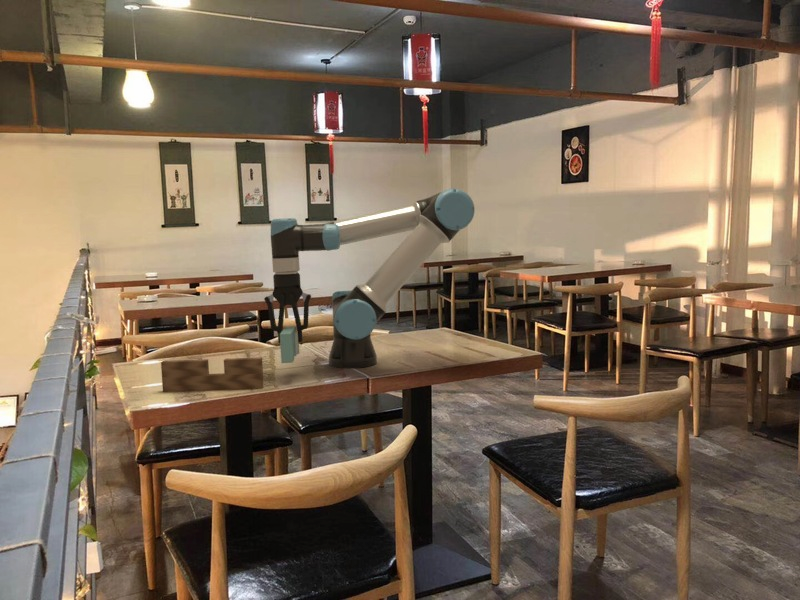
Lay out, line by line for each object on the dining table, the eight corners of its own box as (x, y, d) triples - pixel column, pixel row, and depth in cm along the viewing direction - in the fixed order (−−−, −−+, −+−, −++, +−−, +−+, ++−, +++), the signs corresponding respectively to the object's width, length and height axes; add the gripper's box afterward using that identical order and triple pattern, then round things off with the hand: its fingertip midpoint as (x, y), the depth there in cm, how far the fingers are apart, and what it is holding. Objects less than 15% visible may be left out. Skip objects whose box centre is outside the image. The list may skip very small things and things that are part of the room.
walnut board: (263, 386, 168) (262, 357, 167) (262, 388, 166) (261, 358, 165) (165, 390, 166) (163, 360, 165) (162, 392, 164) (160, 362, 163)
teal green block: (297, 352, 183) (295, 325, 182) (292, 362, 169) (290, 333, 168) (287, 353, 182) (285, 326, 182) (281, 363, 169) (279, 334, 168)
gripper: (315, 270, 182) (319, 349, 184) (260, 273, 181) (265, 352, 183) (313, 272, 174) (318, 354, 177) (255, 275, 173) (261, 357, 176)
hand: (291, 353), depth 180 cm, fingers closed on teal green block, 3 cm apart
